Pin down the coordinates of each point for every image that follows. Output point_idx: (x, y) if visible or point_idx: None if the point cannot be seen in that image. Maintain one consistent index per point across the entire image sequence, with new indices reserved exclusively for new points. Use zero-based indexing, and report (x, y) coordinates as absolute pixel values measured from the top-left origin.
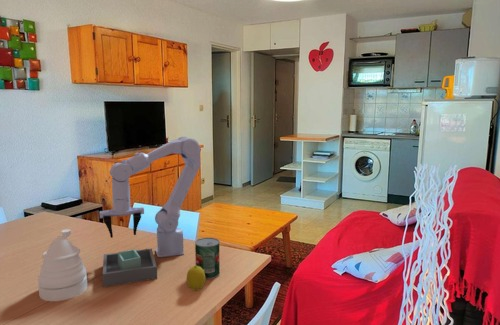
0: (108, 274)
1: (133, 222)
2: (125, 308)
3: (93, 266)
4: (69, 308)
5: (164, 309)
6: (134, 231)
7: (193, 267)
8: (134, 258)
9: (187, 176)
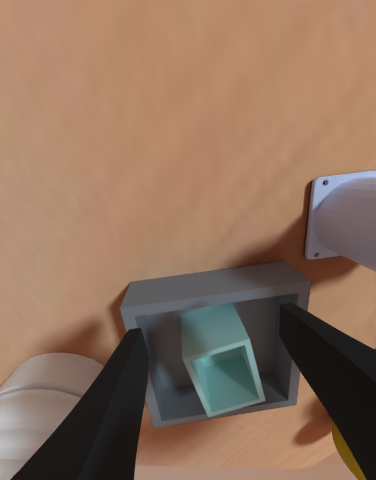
0: (168, 423)
1: (355, 365)
2: (210, 446)
3: (94, 281)
4: None
5: (270, 450)
6: (299, 363)
7: None
8: (245, 406)
9: None
